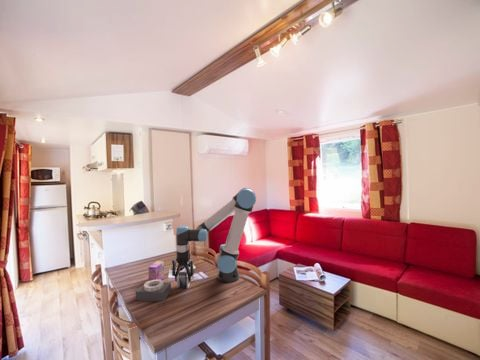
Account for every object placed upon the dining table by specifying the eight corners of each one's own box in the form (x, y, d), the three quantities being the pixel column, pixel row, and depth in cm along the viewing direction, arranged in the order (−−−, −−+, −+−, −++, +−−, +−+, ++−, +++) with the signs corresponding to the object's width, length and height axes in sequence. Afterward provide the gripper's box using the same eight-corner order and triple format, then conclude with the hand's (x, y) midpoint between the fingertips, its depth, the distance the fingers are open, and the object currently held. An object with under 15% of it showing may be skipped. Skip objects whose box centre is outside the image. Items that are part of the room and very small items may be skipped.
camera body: (171, 290, 140) (170, 279, 140) (162, 301, 128) (162, 288, 128) (146, 289, 142) (146, 278, 142) (135, 300, 130) (135, 287, 130)
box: (156, 285, 148) (155, 267, 148) (148, 284, 149) (148, 266, 149) (164, 278, 158) (164, 261, 158) (157, 277, 159) (156, 260, 159)
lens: (188, 285, 147) (188, 271, 147) (185, 289, 142) (185, 274, 142) (180, 285, 148) (180, 271, 147) (177, 289, 142) (177, 274, 142)
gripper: (198, 249, 147) (199, 284, 148) (170, 248, 149) (171, 283, 149) (195, 252, 140) (195, 290, 140) (165, 252, 142) (166, 288, 142)
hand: (183, 286), depth 145 cm, fingers open, 6 cm apart
